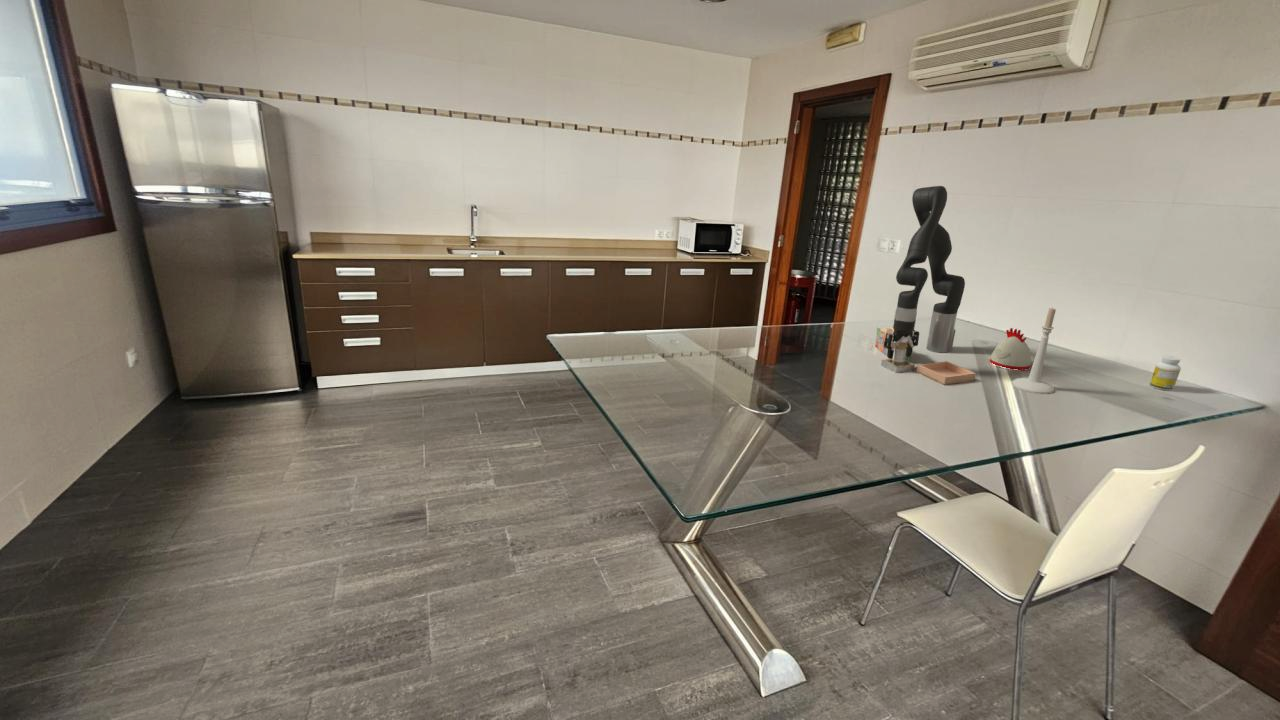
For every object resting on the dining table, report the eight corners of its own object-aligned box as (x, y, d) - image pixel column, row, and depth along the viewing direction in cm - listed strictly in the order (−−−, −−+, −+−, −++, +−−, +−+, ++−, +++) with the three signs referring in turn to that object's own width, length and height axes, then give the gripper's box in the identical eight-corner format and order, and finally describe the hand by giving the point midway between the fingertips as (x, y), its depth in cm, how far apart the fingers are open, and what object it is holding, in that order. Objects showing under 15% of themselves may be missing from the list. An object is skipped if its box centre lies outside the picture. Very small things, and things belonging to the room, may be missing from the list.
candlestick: (1063, 392, 191) (1085, 311, 181) (1031, 395, 189) (1052, 313, 179) (1033, 379, 203) (1052, 302, 193) (1003, 381, 201) (1021, 304, 191)
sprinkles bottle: (896, 365, 219) (901, 333, 215) (905, 368, 215) (911, 336, 211) (888, 367, 217) (893, 335, 213) (898, 370, 213) (903, 338, 209)
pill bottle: (1159, 383, 198) (1169, 354, 194) (1178, 390, 192) (1189, 360, 188) (1144, 385, 197) (1154, 355, 193) (1163, 391, 191) (1173, 361, 187)
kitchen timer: (1006, 357, 227) (1014, 323, 222) (1038, 368, 214) (1047, 332, 209) (981, 361, 223) (989, 326, 218) (1012, 372, 210) (1021, 336, 205)
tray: (945, 368, 215) (946, 361, 214) (974, 380, 203) (976, 373, 202) (916, 372, 212) (917, 364, 211) (944, 384, 199) (945, 377, 198)
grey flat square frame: (898, 363, 221) (899, 357, 220) (913, 370, 213) (914, 364, 213) (880, 365, 219) (881, 359, 218) (895, 372, 211) (896, 366, 210)
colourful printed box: (874, 346, 242) (878, 320, 238) (888, 346, 242) (892, 320, 238) (894, 363, 222) (899, 334, 218) (910, 363, 222) (914, 334, 218)
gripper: (913, 314, 214) (907, 352, 220) (883, 317, 211) (877, 356, 216) (927, 319, 208) (920, 358, 213) (896, 322, 204) (890, 362, 210)
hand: (898, 357), depth 215 cm, fingers open, 8 cm apart
